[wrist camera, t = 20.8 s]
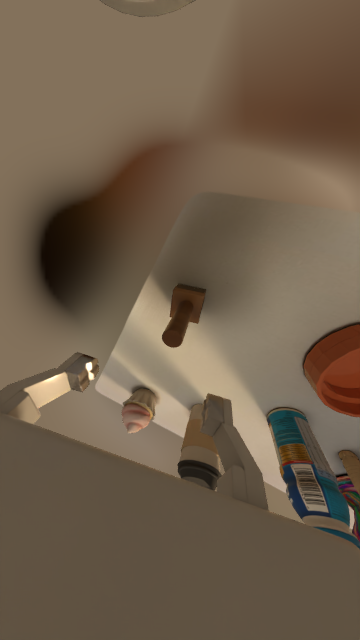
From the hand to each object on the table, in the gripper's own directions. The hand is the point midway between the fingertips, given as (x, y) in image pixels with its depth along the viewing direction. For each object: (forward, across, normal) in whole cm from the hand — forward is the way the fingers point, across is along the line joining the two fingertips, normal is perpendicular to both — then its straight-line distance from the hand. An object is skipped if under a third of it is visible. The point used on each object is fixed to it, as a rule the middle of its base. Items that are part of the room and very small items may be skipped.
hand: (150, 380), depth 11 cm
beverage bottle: (+19, -29, +25) cm, 43 cm away
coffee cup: (+19, -11, +33) cm, 39 cm away
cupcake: (+19, +6, +34) cm, 39 cm away
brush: (+19, 0, +2) cm, 19 cm away
